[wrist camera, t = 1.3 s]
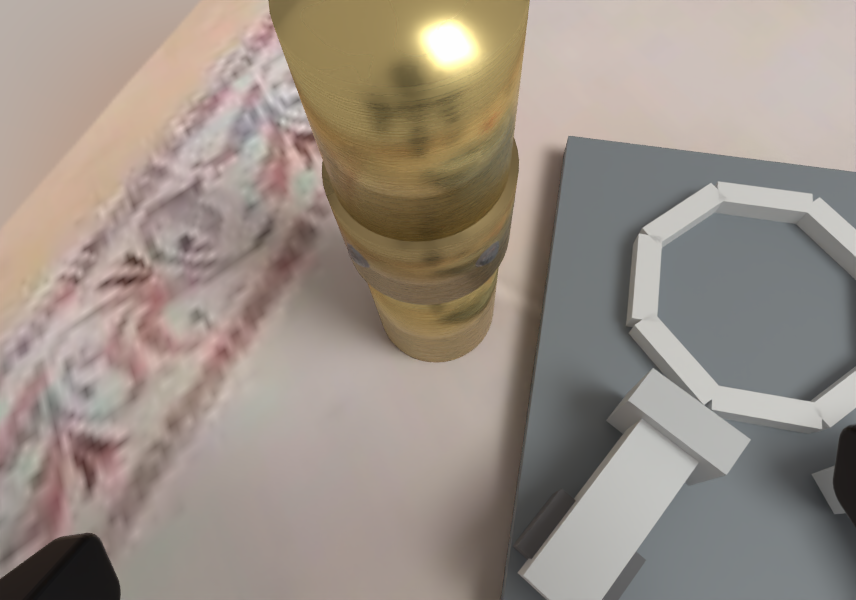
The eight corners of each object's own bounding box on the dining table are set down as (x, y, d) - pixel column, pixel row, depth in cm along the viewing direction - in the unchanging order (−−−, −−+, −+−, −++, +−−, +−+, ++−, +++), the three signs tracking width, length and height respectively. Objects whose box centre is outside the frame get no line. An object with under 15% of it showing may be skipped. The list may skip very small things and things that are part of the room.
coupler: (529, 307, 22) (619, -25, 9) (435, 399, 21) (388, 164, 8) (437, 227, 24) (406, -155, 11) (345, 308, 23) (187, -10, 10)
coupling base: (1015, 854, 16) (1207, 959, 12) (484, 718, 17) (489, 769, 13) (932, 202, 23) (1033, 127, 19) (564, 154, 25) (583, 77, 21)
